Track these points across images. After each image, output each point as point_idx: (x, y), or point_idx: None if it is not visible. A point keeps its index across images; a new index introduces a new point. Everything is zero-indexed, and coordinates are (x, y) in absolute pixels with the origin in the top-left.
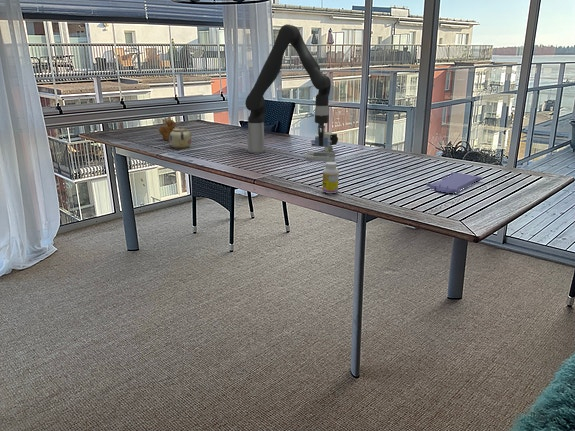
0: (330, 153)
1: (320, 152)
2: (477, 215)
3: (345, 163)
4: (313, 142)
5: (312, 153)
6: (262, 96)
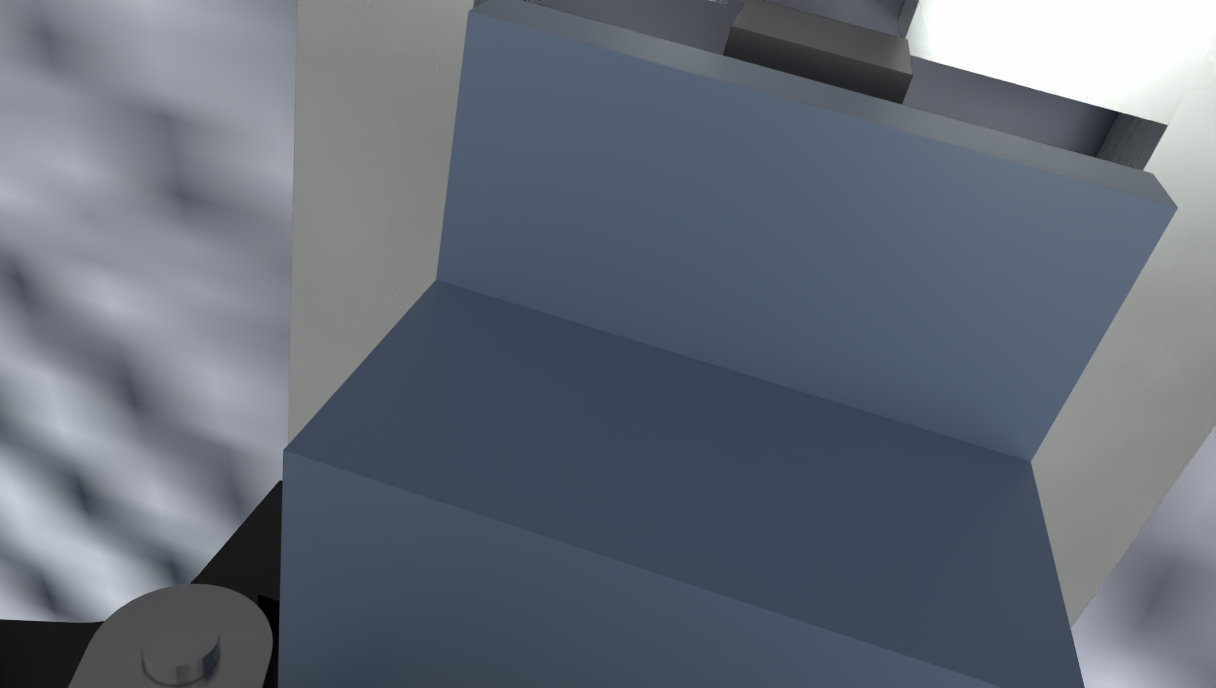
0: None
1: None
2: None
3: (183, 571)
4: (475, 160)
5: (967, 12)
6: None
